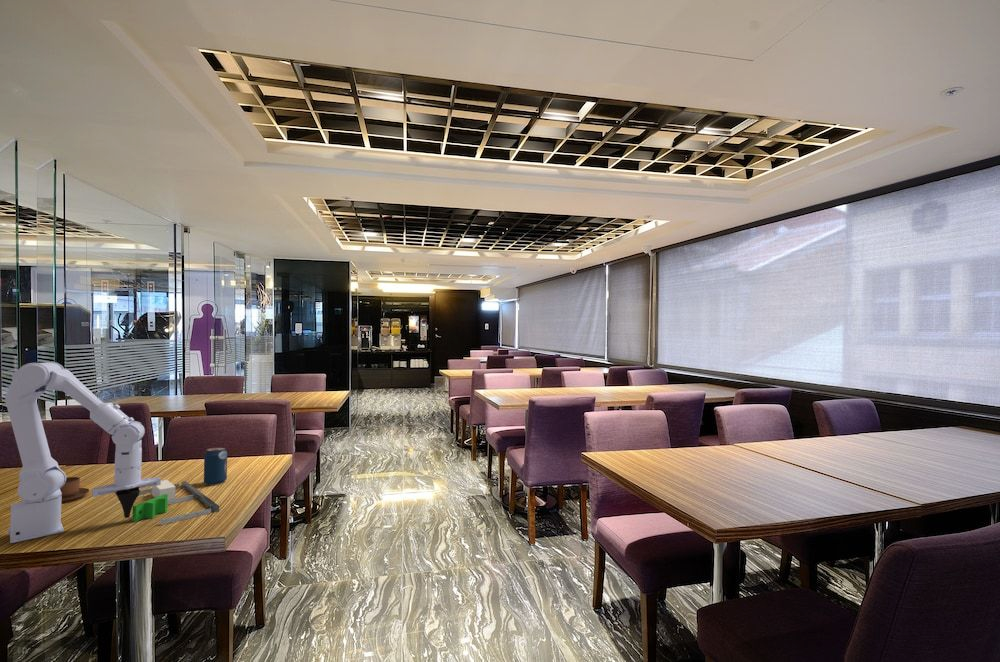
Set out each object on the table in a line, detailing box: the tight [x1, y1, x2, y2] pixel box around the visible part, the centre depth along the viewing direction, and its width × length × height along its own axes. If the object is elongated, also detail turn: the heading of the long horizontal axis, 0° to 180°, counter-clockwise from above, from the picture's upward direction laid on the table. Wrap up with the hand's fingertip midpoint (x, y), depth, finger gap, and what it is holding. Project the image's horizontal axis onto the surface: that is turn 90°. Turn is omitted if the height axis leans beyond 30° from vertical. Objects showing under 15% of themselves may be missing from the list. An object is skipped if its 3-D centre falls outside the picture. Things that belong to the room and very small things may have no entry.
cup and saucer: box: [60, 476, 90, 503], centre depth 144 cm, size 12×12×6 cm
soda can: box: [203, 446, 228, 486], centre depth 161 cm, size 7×7×12 cm
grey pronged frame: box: [138, 480, 220, 526], centre depth 140 cm, size 14×37×2 cm, turn 47°
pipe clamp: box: [131, 494, 168, 523], centre depth 130 cm, size 10×4×4 cm, turn 174°
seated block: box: [151, 479, 177, 500], centre depth 146 cm, size 4×11×4 cm, turn 47°
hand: (126, 516), depth 125 cm, fingers closed
